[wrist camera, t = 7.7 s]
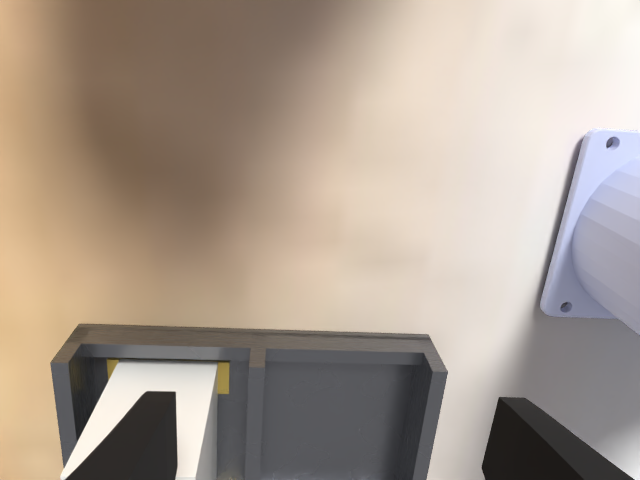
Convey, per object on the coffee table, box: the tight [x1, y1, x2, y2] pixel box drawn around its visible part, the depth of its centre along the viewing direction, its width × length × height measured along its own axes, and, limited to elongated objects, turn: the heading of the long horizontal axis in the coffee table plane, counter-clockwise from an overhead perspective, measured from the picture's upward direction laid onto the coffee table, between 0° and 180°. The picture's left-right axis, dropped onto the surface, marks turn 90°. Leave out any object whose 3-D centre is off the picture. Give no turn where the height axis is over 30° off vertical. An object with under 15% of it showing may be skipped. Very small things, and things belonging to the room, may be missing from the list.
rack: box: [51, 324, 448, 480], centre depth 22 cm, size 15×11×3 cm
